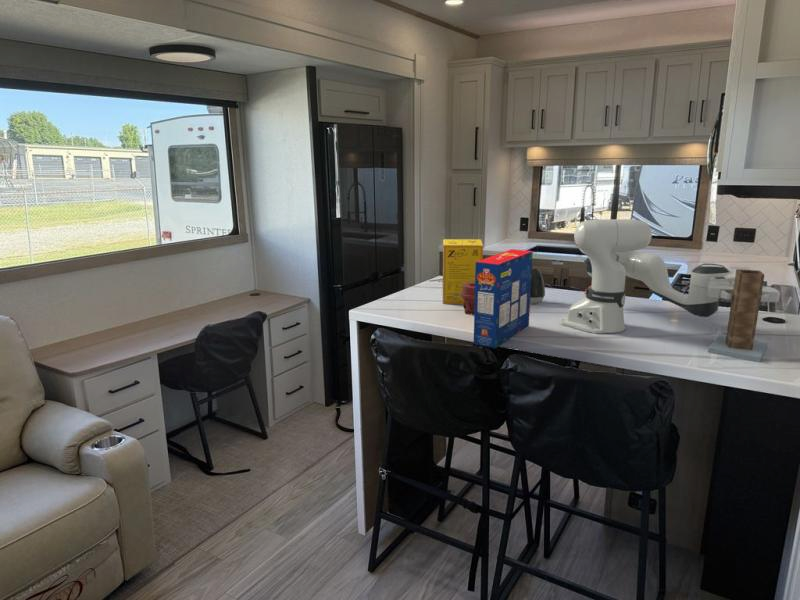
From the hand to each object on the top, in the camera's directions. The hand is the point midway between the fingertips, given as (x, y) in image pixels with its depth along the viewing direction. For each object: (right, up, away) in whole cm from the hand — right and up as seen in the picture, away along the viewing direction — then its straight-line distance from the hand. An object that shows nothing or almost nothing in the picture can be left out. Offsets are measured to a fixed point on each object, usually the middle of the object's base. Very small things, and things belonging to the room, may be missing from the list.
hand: (746, 298), depth 174 cm
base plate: (0, -16, +4) cm, 17 cm away
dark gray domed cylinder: (-52, -2, +61) cm, 81 cm away
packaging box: (-82, 0, +68) cm, 106 cm away
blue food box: (-72, -13, +21) cm, 77 cm away
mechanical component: (-80, -6, +48) cm, 93 cm away
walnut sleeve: (0, -15, +3) cm, 15 cm away
